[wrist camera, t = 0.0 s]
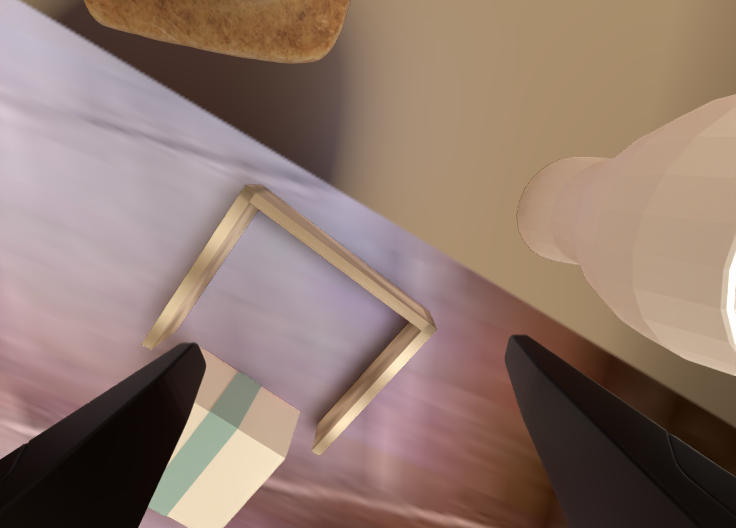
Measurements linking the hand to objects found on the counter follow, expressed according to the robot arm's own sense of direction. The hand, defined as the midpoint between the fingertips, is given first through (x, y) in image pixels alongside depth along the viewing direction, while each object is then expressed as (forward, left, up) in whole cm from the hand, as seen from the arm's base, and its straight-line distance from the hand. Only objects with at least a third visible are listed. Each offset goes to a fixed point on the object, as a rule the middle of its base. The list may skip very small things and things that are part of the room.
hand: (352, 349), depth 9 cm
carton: (-21, +1, -16) cm, 27 cm away
